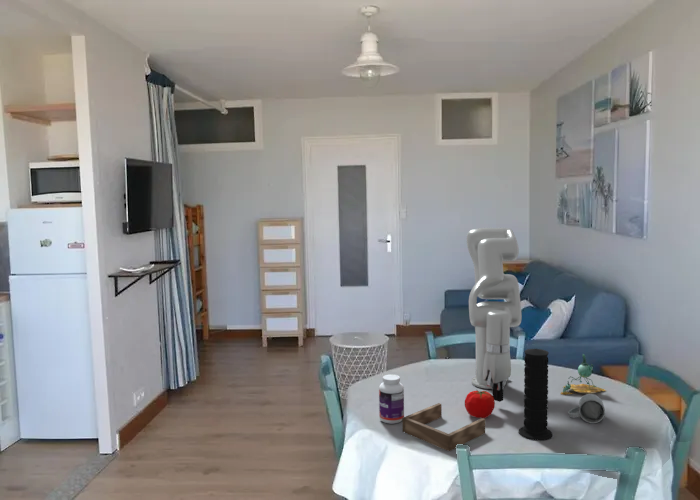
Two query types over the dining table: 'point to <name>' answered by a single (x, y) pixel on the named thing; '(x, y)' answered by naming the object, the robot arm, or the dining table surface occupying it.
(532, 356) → the handle grip
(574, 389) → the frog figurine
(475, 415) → the tomato
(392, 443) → the dining table surface
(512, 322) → the robot arm
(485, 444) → the dining table surface
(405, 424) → the box
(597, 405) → the ceramic mug
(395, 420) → the pill bottle
